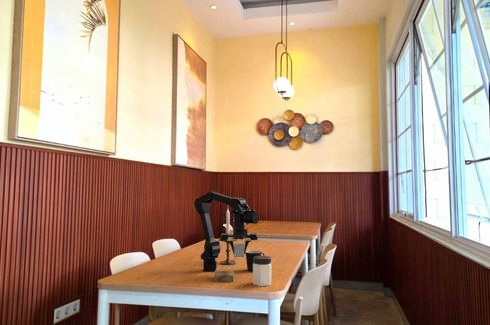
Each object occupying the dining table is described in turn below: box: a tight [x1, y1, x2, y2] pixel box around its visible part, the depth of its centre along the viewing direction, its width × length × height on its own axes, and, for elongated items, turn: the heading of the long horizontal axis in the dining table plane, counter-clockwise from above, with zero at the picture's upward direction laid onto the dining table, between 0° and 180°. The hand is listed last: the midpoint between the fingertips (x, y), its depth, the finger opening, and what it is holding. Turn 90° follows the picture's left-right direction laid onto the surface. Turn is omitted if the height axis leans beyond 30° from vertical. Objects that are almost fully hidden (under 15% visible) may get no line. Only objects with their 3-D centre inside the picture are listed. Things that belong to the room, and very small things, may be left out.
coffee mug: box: [245, 249, 265, 273], centre depth 191 cm, size 12×9×10 cm
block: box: [233, 242, 245, 258], centre depth 180 cm, size 5×5×6 cm
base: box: [213, 270, 235, 283], centre depth 172 cm, size 9×9×3 cm
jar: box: [252, 255, 272, 287], centre depth 164 cm, size 9×8×12 cm
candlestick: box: [218, 205, 238, 266], centre depth 210 cm, size 11×11×35 cm
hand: (239, 254), depth 180 cm, fingers closed on block, 5 cm apart
